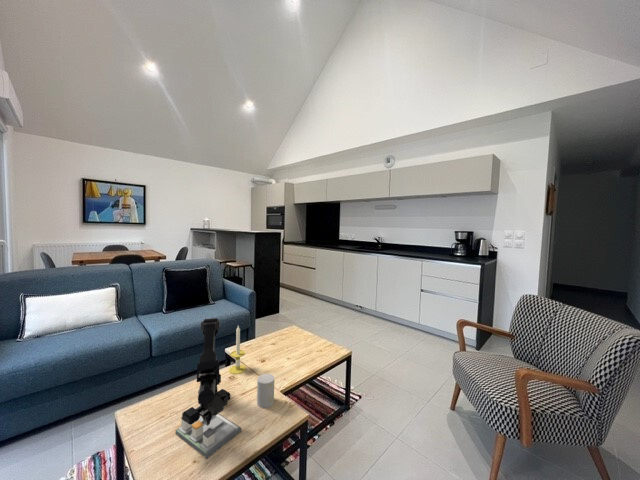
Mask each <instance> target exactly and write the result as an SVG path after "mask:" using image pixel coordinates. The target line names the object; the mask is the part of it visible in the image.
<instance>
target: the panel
mask: <svg viewBox="0 0 640 480" xmlns="http://www.w3.org/2000/svg"><path fill="white" fill-rule="evenodd" d="M198 421H200V422H202V423H203V433H204V432H205V431H206V430H208V429H209V428H211V429H212V430H213V431H215V442H213V443H212V444H211V445H210V446H208V447H207V446H206V445H204V444H203V434H202V435H200V436H199V437H197V438H195V437H194V436H192V426H191V427H190V428H188V429H187V430H185V429H183V428H182V427H181V426H180V427H178V428H177V429H175V435H176V436H178V437H179V438H180V439H181V440H183V441H184V442H185V443H187V445H189V446H190V447H191V448H193V449H194V450H195V451H197V452H198V453H199V454H201V455H202V456H203V457H204V458H205V459H209V458H210V457H211V456H212V455H214V454H215V453H216V452H217V451H219V450H220V449H221V448H222V447H224V446H225V445H226V444H227V443H228V442H230V441H231V440H232V439H233V438H235V437H236V436H238V435H239V433H241V432H242V427H241V426H240V425H238V424H237V423H235V422H233V421H232V420H230V419H228V418H227V417H225V416H224V415H222V414H220V413H218V414H217V415H216V416H212V419H211V421H210V424H209V425H208V426H207V425H206V424H205V422H204V420H203V418H202V416H200V418H199V420H198ZM196 422H197V421H196ZM193 424H194V423H193Z"/></svg>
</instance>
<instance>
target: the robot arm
mask: <svg viewBox="0 0 640 480" xmlns="http://www.w3.org/2000/svg"><path fill="white" fill-rule="evenodd" d="M220 322H221V320H220V319H218V317H213V318H212V317H211V318H204V319H203V321H201V322H200V331H201V332H202V335H203V336H204V339H203V351H202V353H201V354H200V355H199V361H198V362H197V365H196V366H197V367H196V368H197V369H196V383H199V389H198V392H197V393H198V395H197V402H198V403H197V404H199V406H197V407H196V408H194V407H193V406H191V407H190V408H188V409H186V410H184V411H183V412H182V414H181V417H182V419H183V420H184V421H186V422H187V423H188V424H193V423H195V422H196V421H198V420H199V418H200V416H202V418H203V420H204V422H205V424H206V425H207V426H208V425H209V424H210V421H211V419H212V416H216V415H217V414H218V413H219V414H220V413H221V412H223V411H224V409H225V407H226V406H228V402H229V401H230V400H231V393H230V391H227V390H225V389H224V388H222V389H220V390H218V385H220V384H221V383H222V377H221V376H222V375H221V373H220V362H219V360H218V359H217V353H216V336H217V335H218V333H219V329H220V327H221V323H220Z"/></svg>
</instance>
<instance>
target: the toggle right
mask: <svg viewBox="0 0 640 480" xmlns="http://www.w3.org/2000/svg"><path fill="white" fill-rule="evenodd" d="M213 442H215V431H213V430H212V429H211V428H209V429H208V430H206V431H205V432H204V433H203V444H204V445H206V446H207V447H208V446H210V445H211V444H212V443H213Z"/></svg>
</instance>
